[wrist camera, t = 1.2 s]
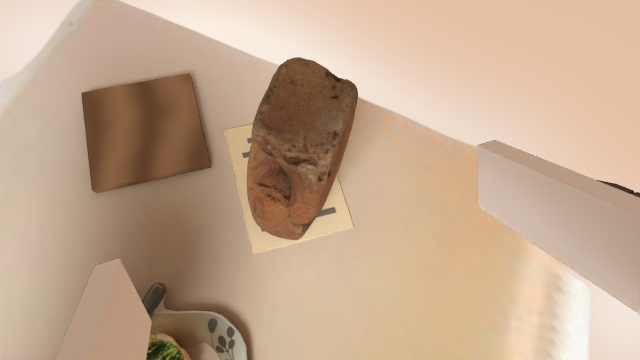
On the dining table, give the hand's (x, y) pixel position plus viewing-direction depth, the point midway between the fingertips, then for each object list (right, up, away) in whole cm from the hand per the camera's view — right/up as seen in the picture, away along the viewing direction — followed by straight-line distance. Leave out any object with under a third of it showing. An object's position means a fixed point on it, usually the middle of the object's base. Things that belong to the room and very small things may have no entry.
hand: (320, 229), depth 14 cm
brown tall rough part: (-3, -1, +33) cm, 33 cm away
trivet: (-21, +8, +34) cm, 41 cm away
